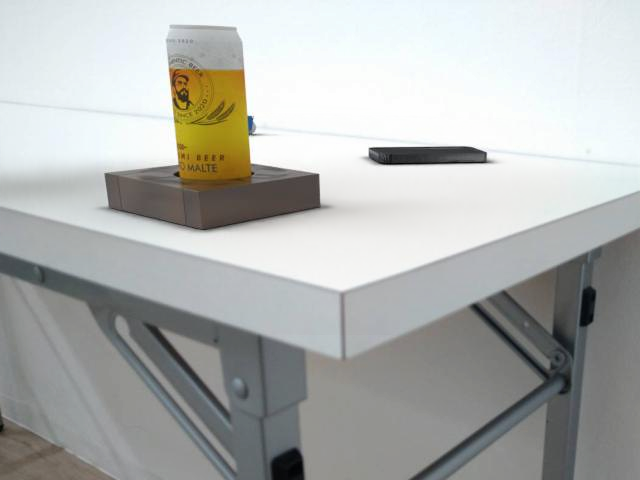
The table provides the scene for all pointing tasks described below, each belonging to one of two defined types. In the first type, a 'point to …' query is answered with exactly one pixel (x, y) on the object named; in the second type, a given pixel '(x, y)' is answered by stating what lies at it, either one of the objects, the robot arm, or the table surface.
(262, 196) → the can holder
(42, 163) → the table surface
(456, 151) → the phone
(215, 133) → the beer can
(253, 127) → the ultrasonic sensor
